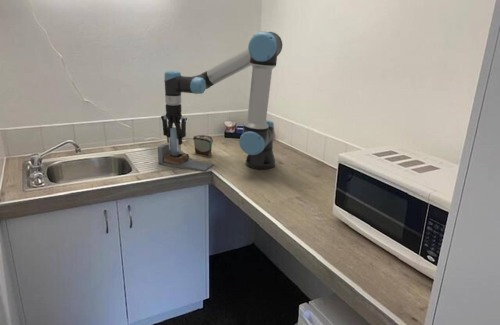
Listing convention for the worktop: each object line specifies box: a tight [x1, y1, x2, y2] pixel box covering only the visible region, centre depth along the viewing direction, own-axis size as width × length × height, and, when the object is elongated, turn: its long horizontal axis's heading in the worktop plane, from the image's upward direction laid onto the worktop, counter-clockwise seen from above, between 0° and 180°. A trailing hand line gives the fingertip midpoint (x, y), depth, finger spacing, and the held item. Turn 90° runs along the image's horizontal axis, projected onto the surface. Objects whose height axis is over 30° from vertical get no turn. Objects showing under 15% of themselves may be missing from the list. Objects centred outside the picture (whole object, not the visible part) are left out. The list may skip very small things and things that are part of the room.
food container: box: [192, 134, 214, 158], centre depth 206 cm, size 12×6×10 cm, turn 58°
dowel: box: [170, 126, 180, 156], centre depth 189 cm, size 4×4×14 cm
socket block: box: [164, 152, 190, 165], centre depth 191 cm, size 9×9×3 cm
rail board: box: [157, 142, 215, 173], centre depth 189 cm, size 10×26×9 cm, turn 70°
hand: (175, 149), depth 190 cm, fingers closed on dowel, 4 cm apart
